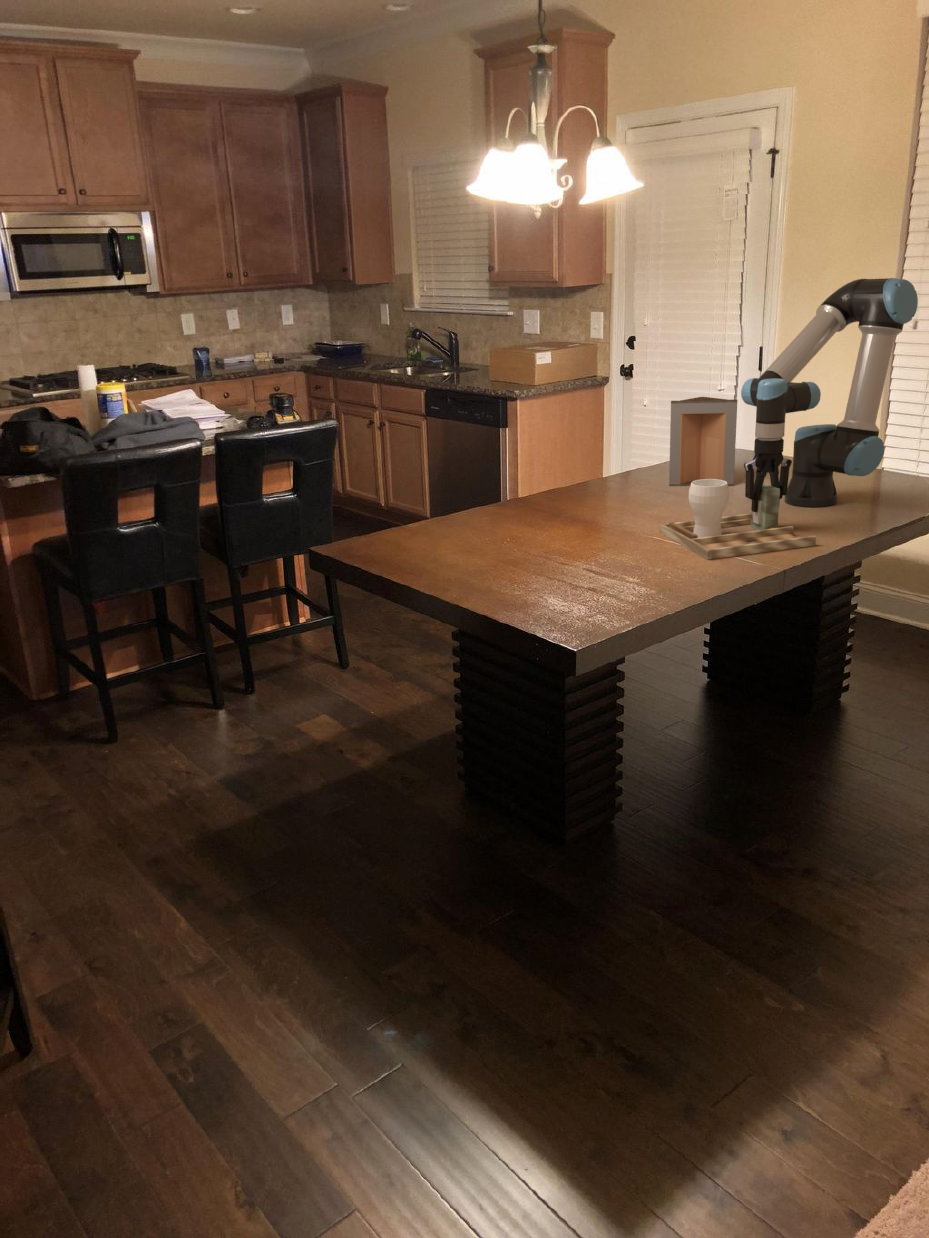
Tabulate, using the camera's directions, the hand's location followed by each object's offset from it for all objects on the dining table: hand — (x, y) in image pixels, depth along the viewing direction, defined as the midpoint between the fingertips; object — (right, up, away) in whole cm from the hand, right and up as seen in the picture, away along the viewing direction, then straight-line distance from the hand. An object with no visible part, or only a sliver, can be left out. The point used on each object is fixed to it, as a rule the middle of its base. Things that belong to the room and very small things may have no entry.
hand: (764, 521), depth 271 cm
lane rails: (-10, -5, -7) cm, 13 cm away
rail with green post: (-12, -4, -2) cm, 13 cm away
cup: (-17, -5, -3) cm, 18 cm away
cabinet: (-4, +19, +58) cm, 61 cm away
